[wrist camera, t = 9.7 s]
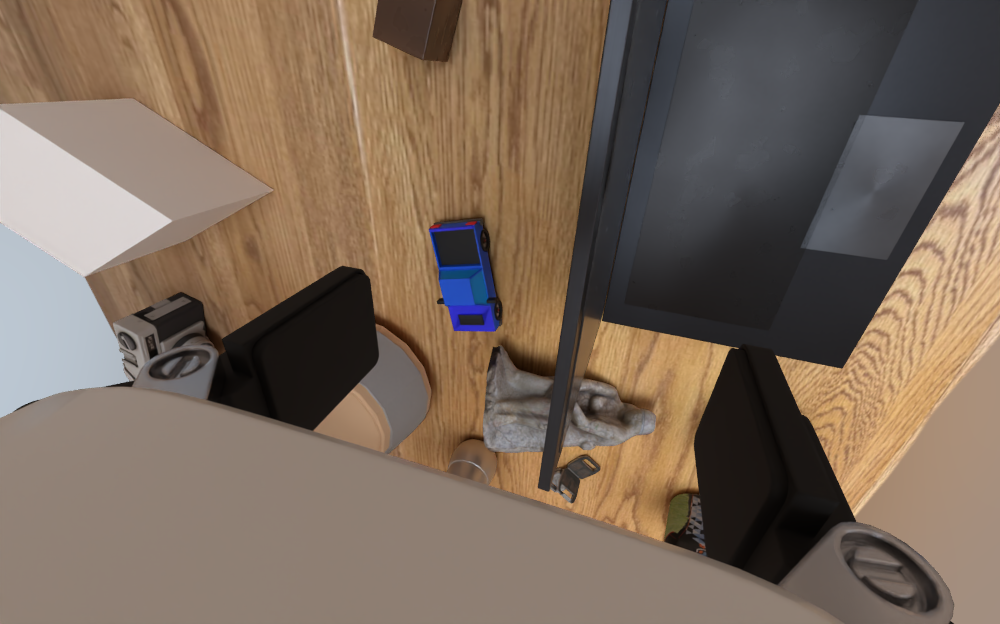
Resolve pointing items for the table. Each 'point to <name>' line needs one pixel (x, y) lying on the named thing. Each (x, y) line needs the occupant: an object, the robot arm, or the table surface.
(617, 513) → the table surface
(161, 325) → the camera
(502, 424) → the sculpture
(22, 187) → the block
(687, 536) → the beverage can
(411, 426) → the desk lamp
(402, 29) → the block
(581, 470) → the strap clip
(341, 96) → the table surface
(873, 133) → the laptop
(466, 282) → the toy car
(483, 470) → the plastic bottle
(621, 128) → the laptop screen
